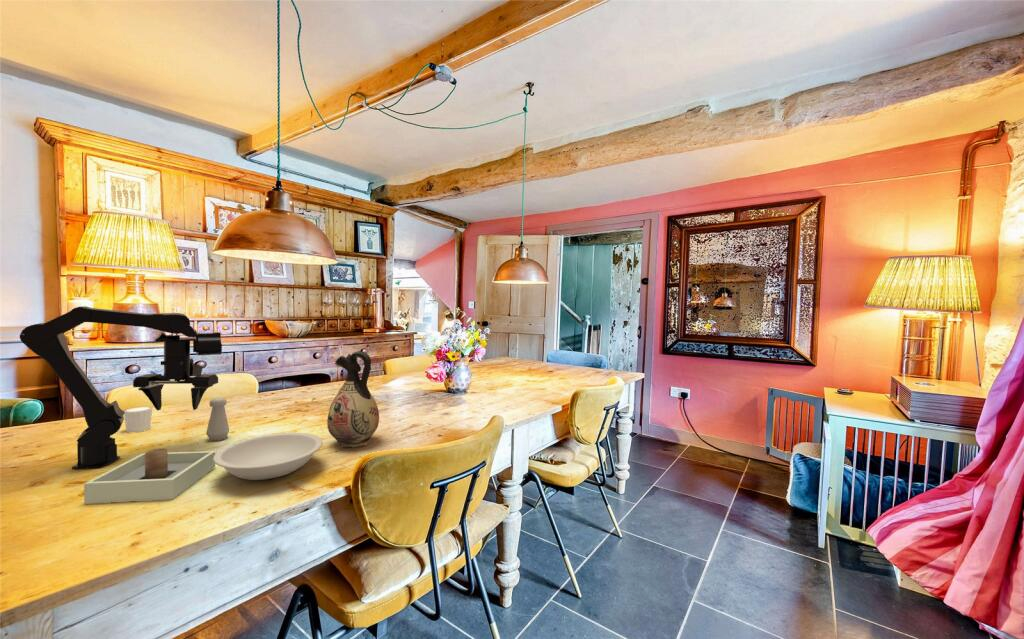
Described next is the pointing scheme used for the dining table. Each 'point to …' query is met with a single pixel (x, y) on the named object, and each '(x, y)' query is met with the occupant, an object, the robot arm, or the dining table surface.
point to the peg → (156, 464)
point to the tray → (133, 486)
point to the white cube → (138, 419)
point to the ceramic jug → (353, 405)
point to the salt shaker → (217, 420)
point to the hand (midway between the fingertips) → (177, 409)
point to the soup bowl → (268, 455)
